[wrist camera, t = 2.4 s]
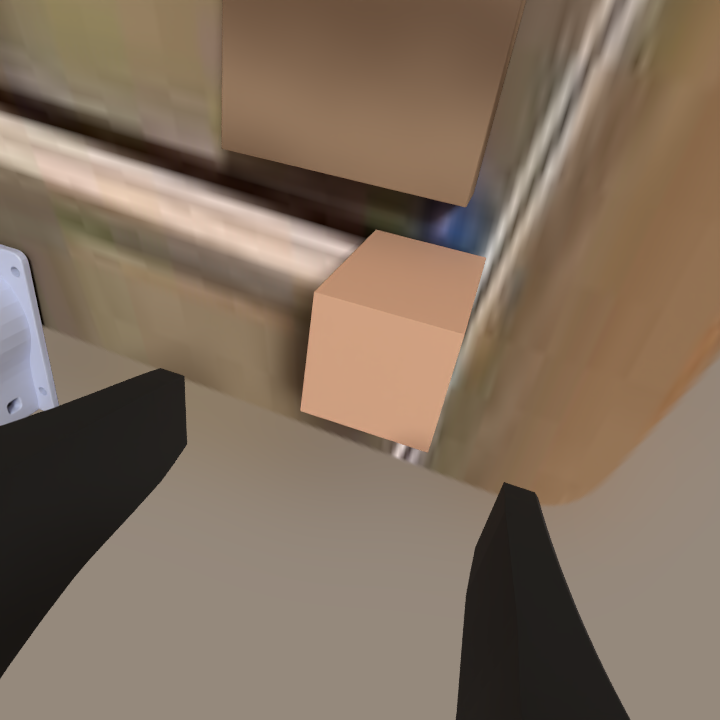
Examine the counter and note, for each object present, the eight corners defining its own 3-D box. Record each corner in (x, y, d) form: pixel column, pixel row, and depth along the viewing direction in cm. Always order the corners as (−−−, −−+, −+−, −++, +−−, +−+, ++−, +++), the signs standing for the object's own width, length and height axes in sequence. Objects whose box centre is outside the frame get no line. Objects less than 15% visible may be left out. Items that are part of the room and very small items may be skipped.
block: (456, 354, 20) (428, 452, 15) (359, 326, 20) (300, 410, 15) (486, 257, 17) (464, 334, 13) (376, 229, 18) (314, 292, 13)
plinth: (473, 193, 16) (466, 207, 15) (251, 140, 18) (221, 148, 16) (564, -141, 12) (568, -174, 11) (262, -177, 14) (224, -210, 12)
